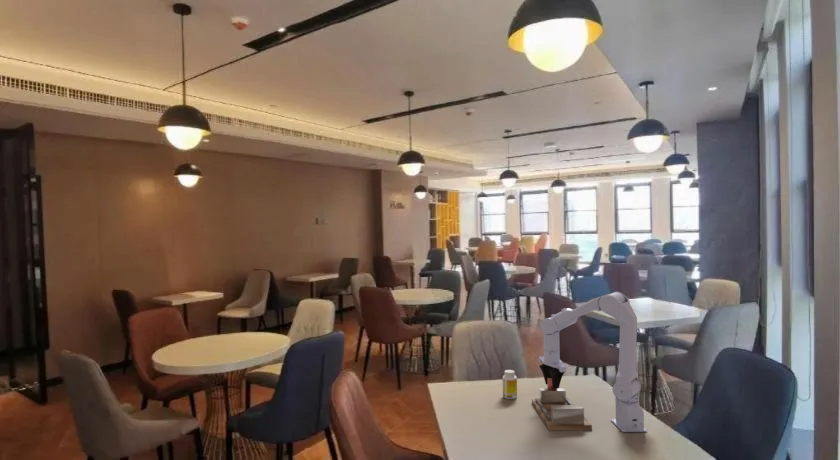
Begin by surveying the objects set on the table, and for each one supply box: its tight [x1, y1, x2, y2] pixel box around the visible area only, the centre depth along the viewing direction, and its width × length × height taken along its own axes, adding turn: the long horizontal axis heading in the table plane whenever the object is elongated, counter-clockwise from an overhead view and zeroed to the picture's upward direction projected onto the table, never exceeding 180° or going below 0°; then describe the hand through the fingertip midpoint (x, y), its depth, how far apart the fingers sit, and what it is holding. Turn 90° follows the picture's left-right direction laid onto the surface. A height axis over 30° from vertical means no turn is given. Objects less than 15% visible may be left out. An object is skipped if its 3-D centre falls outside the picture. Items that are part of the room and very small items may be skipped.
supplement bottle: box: [502, 369, 518, 400], centre depth 185 cm, size 6×6×10 cm
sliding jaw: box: [538, 376, 567, 403], centre depth 175 cm, size 4×9×9 cm, turn 90°
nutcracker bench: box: [531, 397, 593, 431], centre depth 166 cm, size 24×14×6 cm, turn 0°
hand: (552, 386), depth 175 cm, fingers open, 4 cm apart
